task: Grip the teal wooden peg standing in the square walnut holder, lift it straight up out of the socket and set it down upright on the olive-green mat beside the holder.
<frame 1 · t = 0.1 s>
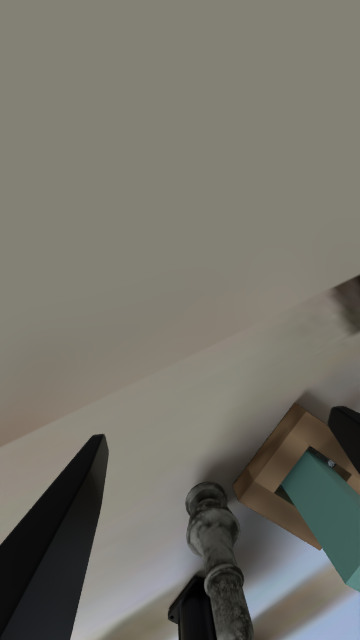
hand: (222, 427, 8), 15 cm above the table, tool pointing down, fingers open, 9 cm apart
walnut holder: (302, 469, 26), on the table
teal peg: (334, 509, 21), in the walnut holder
dark grey upright piece: (206, 500, 26), on the table
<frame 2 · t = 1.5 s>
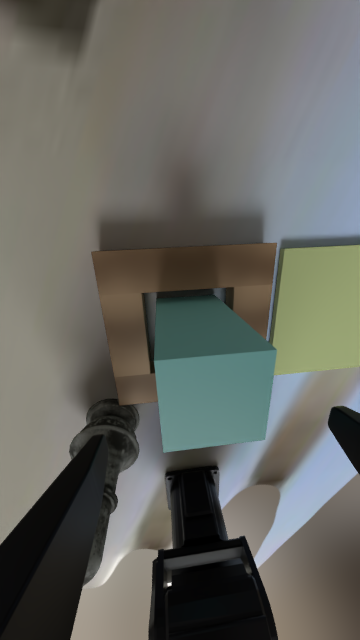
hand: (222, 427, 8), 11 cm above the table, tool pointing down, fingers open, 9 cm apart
olive mat: (332, 312, 19), on the table
walnut holder: (186, 323, 18), on the table
teal peg: (196, 350, 14), in the walnut holder
dark grey upright piece: (113, 418, 21), on the table
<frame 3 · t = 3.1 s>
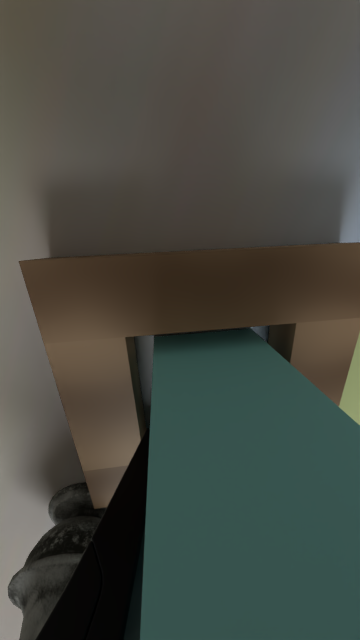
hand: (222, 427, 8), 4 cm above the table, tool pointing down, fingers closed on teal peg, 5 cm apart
walnut holder: (203, 374, 11), on the table
teal peg: (235, 464, 7), in the walnut holder, touching gripper
dark grey upright piece: (91, 504, 14), on the table
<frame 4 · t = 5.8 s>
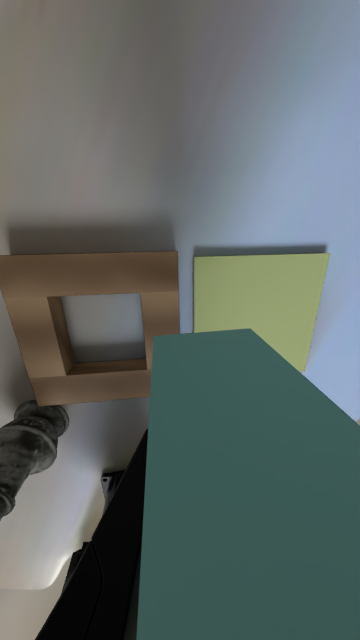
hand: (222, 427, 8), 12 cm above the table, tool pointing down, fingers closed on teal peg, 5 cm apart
olive mat: (254, 319, 20), on the table
walnut holder: (106, 327, 19), on the table
teal peg: (234, 464, 7), point 14 cm above the table, touching gripper
dark grey upright piece: (43, 418, 22), on the table
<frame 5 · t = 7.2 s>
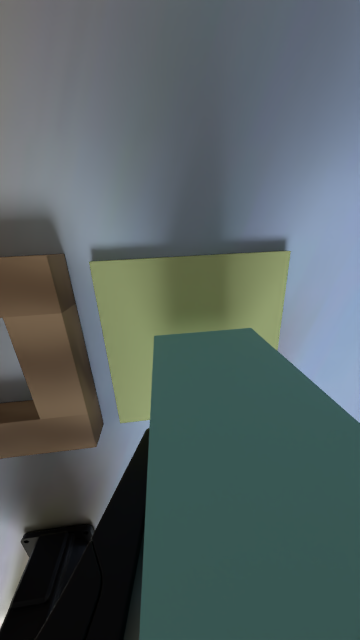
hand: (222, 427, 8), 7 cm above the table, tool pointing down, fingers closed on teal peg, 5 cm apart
olive mat: (194, 343, 15), on the table
teal peg: (236, 464, 7), point 9 cm above the table, touching gripper
when the fingers open (5 cm above the table, at t = 8.3 s): teal peg drops 1 cm, resting on olive mat.
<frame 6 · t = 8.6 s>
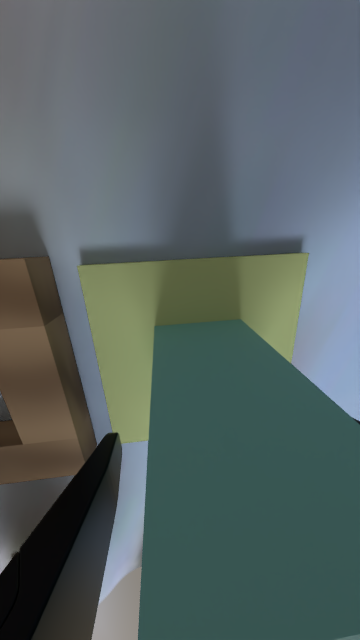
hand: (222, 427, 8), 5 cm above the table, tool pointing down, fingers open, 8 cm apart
olive mat: (197, 356, 13), on the table
teal peg: (223, 429, 8), on the olive mat, point 6 cm above the table
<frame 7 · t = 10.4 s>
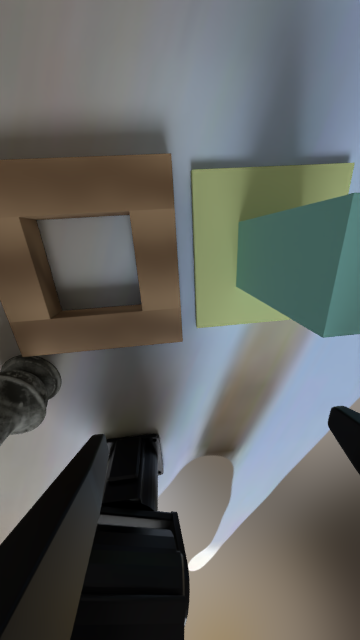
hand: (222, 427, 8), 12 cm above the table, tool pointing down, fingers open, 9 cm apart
olive mat: (264, 253, 17), on the table
walnut holder: (95, 265, 16), on the table
teal peg: (308, 258, 12), on the olive mat, point 6 cm above the table
dark grey upright piece: (33, 377, 20), on the table
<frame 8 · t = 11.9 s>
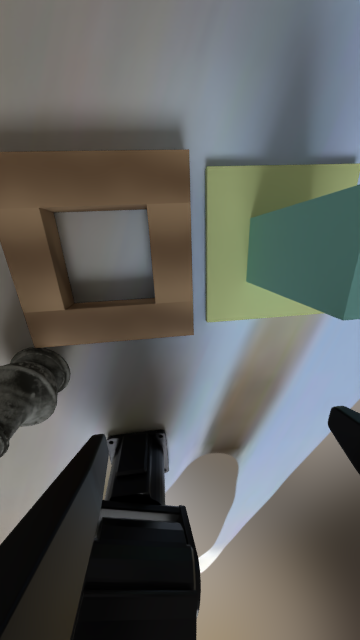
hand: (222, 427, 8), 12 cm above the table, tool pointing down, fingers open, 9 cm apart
olive mat: (273, 250, 18), on the table
walnut holder: (109, 258, 17), on the table
teal peg: (321, 251, 13), on the olive mat, point 6 cm above the table
dark grey upright piece: (42, 371, 20), on the table
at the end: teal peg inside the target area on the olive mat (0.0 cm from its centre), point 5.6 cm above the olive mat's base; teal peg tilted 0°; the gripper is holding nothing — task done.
